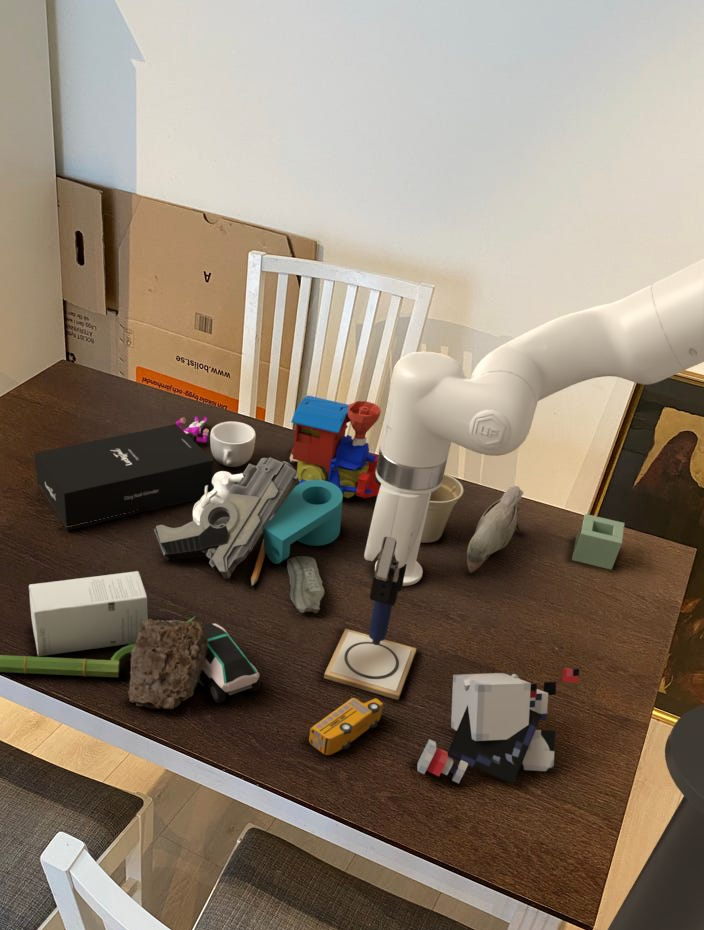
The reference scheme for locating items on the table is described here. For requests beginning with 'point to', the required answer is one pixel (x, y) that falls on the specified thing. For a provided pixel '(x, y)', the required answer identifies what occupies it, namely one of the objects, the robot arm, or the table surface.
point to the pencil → (258, 563)
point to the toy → (496, 727)
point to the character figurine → (195, 429)
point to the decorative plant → (67, 664)
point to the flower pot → (441, 508)
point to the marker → (380, 620)
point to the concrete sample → (166, 662)
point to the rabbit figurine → (216, 494)
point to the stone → (305, 584)
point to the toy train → (336, 445)
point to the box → (123, 475)
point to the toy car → (227, 665)
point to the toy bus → (345, 725)
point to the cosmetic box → (87, 612)
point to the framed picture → (370, 664)
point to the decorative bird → (494, 528)
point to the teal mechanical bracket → (304, 519)
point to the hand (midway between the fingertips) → (385, 593)
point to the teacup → (232, 443)
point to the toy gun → (232, 519)
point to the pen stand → (598, 541)
